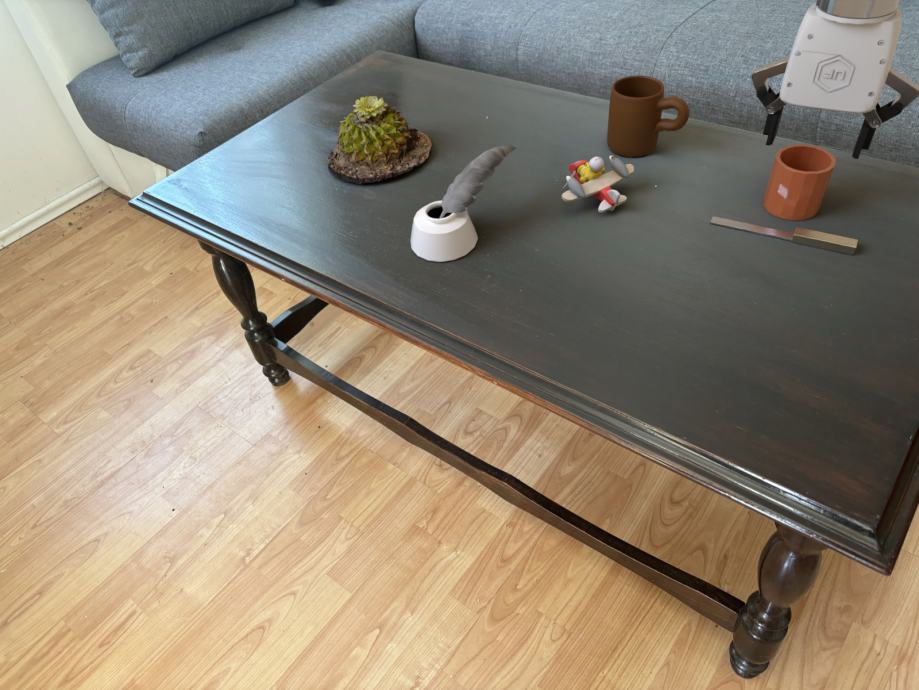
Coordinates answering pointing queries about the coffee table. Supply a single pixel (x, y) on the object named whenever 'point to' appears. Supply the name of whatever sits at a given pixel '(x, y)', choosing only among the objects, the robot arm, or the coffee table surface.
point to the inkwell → (454, 212)
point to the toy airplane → (597, 182)
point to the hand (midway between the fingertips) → (812, 146)
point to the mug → (640, 115)
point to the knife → (795, 236)
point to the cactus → (376, 144)
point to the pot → (798, 182)
